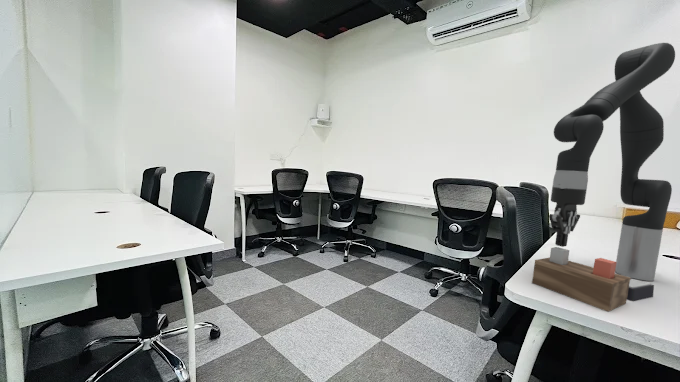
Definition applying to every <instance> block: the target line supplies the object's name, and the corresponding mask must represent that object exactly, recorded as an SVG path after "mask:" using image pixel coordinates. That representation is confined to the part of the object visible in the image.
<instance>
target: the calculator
mask: <svg viewBox="0 0 680 382" xmlns="http://www.w3.org/2000/svg"><path fill="white" fill-rule="evenodd" d="M617 274H618V273H617ZM618 275H620V274H618ZM622 276H624V275H622ZM629 278H630V277H629ZM654 289H655V285H654V284H652V283H651V282H648V281H647V282H646V281H644V280H639V279H635V278H630V283H629V289H628V295H627V300H628V301H631V302H636V301H640V300H645V299H649V298H653V297H654Z"/></svg>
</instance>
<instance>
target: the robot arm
mask: <svg viewBox="0 0 680 382" xmlns="http://www.w3.org/2000/svg"><path fill="white" fill-rule="evenodd" d="M675 59H676V50H675V47H674V46H673V45H672V43H670V42H659V43H654V44H649V45H646V46H643V47H641V46H640V47H637V48H635V49H634V48H633V49H630V50H627V51H624V52H621V53H620V54H619V56H617V58H616V60H615V63H614V79H615V81H613V82H611V83H609V84H607V85H606V86H604V87H602V88H601V89H599V90H598V91H597V92H595V93H594V94H593V95H592V96H591V97H590V98H589V99H588V100H587V101H586V102H585V103H584V104H582V105H581V106H580V107H578V108H576V109H574V110H572V111H571V112H569V113H568V114H566V115H564V116H563V117H562V118H561V119H560V120H558V121H557V123H556V124H555V126H554V129H553V137H554V138H555V140H556V141H558V142H561V143H574V145H573V146H572V147H571V148H568V149H565V150H562V151H560V152H559V153H558V155H557V160H556V167H555V173H554V176H553V179H552V180H553V181H552V189H551V196H550V201H551V203H555V204H556V205H555V208H554V212H553V214H552V213H550V214H548V215H549V216H548V219H549V223H550V226H551V229H552V231H553V232H555V233H556V235H555V242H554V243H555V246H556V247H560V248H561V247H562V248H563V247H567V245H568V239H569V235H571V234H570V233H571V232H574V230H575V227H576V226H577V224H578V222H579V219H580V218H581V214H578V212H577V211H578V208H577V207H578V206H583V205H584V204H585V202H586V196H587V189H588V182H589V175H588V173H589V168H590V167H589V166H590V161H591V156H592V154H593V152H594V151H595V148H596V147H597V144H598V143H599V141H600V140H601V139H600V138H601V137H602V136H603V135H602V134H603V132H604V121H606V120H608V119H609V118H610V117H611V116H612V115H613V114H614V113H615V112H617V110H618V109H619V121H620V124H619V125H620V126H619V134H620V135H619V136H620V149H621V150H620V151H621V152H620V153H621V177H620V193H619V194H620V199H621V202H622V203H623V204H624V205H627V206H636V207H643V208H648V210H647V211H645V212H643V213H640V214H635V215H634V214H632V215H625V216H623V218H622V221H621V222H622V224H621V229H620V236H619V240H618V241H619V243H618V249H617V253H616V254H617V255H616V260H615V262H617V263H616V269H615V274H619V275H623V276H626V277H630V278H631V279H635V280H639V281H645V282H646V281H647V282H648V281H649V282H654V280H655V275H656V270H657V266H658V259H659V254H660V247H661V243H662V236H663V230H664V225H665V221H666V217H667V212H668V209H669V204H670V201H671V198H672V192H673V191H672V190H673V189H672V187H673V186H672V184H671V183H670V181H668V180H664V179H647V178H646V179H645V178H643V179H642V178H641V179H640V178H639V172H640V170H641V168H642V166H643V165H644V163H645V162H646V161H647V160H648V159H649V158H650V157H651V156H652V155H653V153H655V152H656V151H657V150H658V148H659V147H660V146H661V145H662V143H663V142H664V135H665V134H664V131H665V127H664V125H665V123H664V118H663V117H662V115H661V113H659V111H657V109H656V108H654V106H652V104H650V103H649V102H648V101H647V100H646V99H645V97H644V96H643V94H642V93H641V91H642V90H644V88H646V87H647V86H648V85H651V84H652V83H653V82H655V81H656V80H658V79H659V78H661V77H662V76H664V75H665V74H666V73H667V72H669V70H670V69H671V68H672V66H673V65H674V62H675Z"/></svg>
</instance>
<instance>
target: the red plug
mask: <svg viewBox="0 0 680 382" xmlns="http://www.w3.org/2000/svg"><path fill="white" fill-rule="evenodd" d="M616 263H617V262H616V260H615V261H614V260H611V259H606V258H602V257H599V258H595V259H594V263H593V268H594V269H593V274H594V275H598V276H601V277H604V278H608V279H612V278H614V275H615V274H616V272H615V269H616Z"/></svg>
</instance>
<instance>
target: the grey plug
mask: <svg viewBox="0 0 680 382" xmlns="http://www.w3.org/2000/svg"><path fill="white" fill-rule="evenodd" d="M569 256H570V250H569V249H566V248H563V247H562V248H561V247H560V246H554V247H550V254H549V257H550V260H549V261H550V262H554V263H557V264H560V265H566V264H568V261H569V258H570V257H569Z"/></svg>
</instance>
